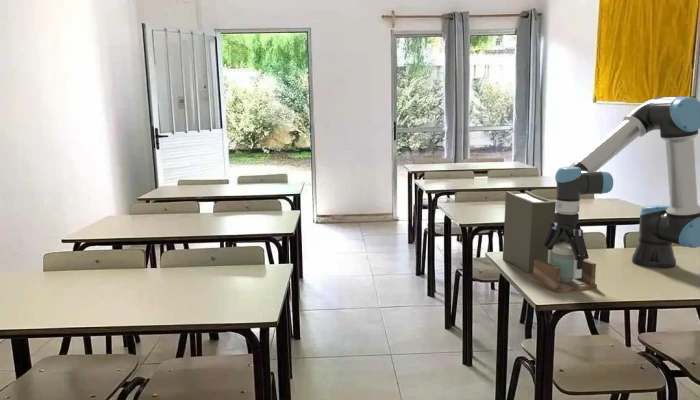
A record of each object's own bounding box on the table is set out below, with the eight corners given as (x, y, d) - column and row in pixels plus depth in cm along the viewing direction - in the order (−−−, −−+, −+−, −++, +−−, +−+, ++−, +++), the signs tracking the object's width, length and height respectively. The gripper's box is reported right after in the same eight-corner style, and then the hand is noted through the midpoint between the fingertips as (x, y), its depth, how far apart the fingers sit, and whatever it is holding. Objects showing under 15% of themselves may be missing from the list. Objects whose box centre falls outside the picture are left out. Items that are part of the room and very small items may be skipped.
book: (552, 274, 215) (557, 200, 210) (529, 275, 213) (533, 201, 208) (523, 258, 236) (527, 190, 230) (502, 259, 234) (505, 191, 228)
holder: (569, 276, 210) (570, 254, 208) (596, 287, 197) (598, 264, 195) (531, 281, 205) (532, 258, 203) (556, 292, 192) (558, 269, 190)
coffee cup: (578, 284, 195) (580, 250, 194) (552, 283, 197) (553, 249, 195) (574, 277, 204) (576, 244, 202) (549, 276, 205) (550, 243, 204)
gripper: (535, 207, 207) (532, 264, 211) (583, 219, 184) (579, 284, 187) (552, 205, 209) (550, 262, 213) (602, 218, 186) (598, 281, 189)
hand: (563, 272), depth 200 cm, fingers open, 13 cm apart
